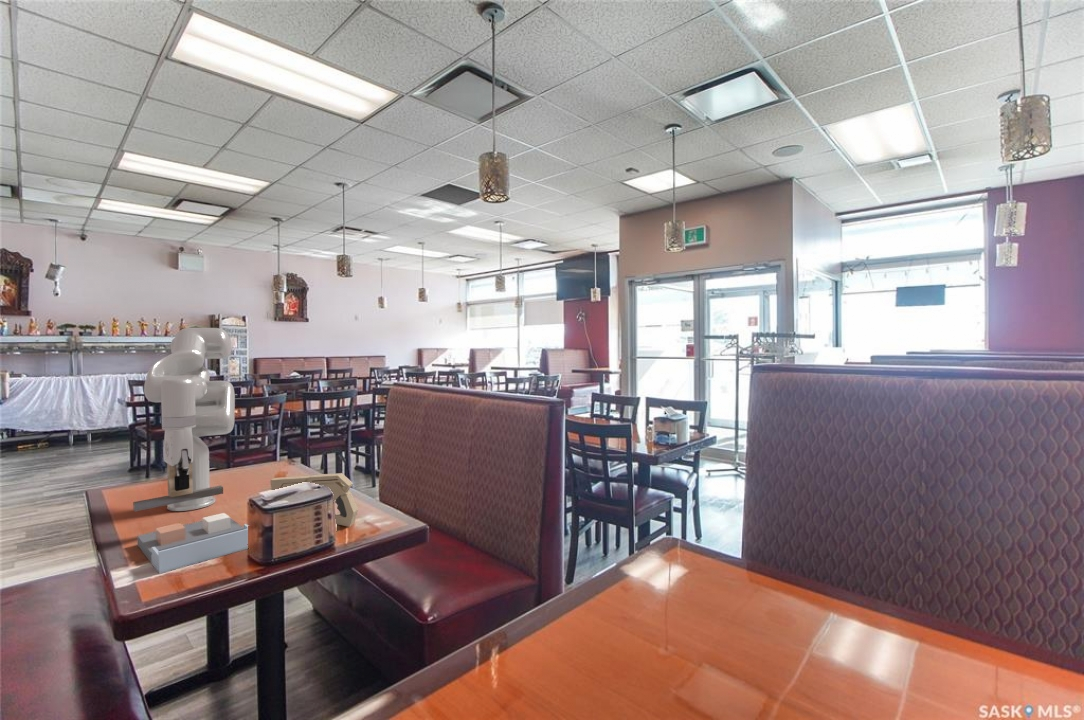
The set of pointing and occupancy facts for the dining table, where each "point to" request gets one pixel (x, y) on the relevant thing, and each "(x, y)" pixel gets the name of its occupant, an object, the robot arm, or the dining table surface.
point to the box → (199, 551)
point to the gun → (338, 487)
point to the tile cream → (216, 523)
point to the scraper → (177, 492)
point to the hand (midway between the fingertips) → (180, 487)
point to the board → (192, 534)
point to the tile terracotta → (170, 534)
